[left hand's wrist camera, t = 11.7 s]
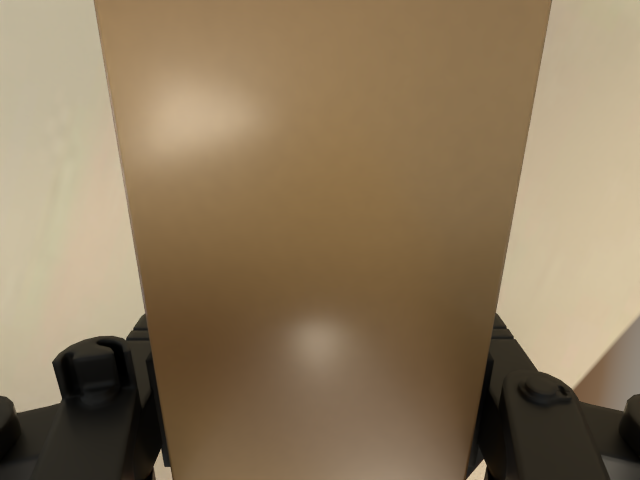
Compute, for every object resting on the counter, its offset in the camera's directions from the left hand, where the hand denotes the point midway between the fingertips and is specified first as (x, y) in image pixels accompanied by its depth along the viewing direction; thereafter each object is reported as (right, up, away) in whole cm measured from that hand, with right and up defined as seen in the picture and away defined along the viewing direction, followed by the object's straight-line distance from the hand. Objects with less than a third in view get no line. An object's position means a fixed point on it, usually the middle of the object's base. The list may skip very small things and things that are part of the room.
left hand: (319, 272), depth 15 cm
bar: (0, +24, -9) cm, 26 cm away
